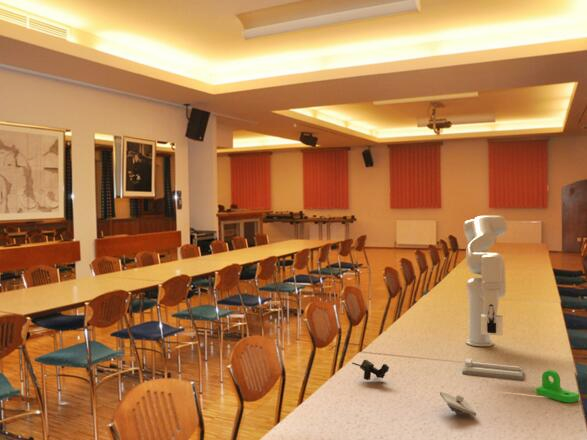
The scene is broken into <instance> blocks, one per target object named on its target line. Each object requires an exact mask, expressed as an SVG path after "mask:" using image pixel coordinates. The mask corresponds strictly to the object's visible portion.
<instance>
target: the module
mask: <svg viewBox="0 0 587 440" xmlns="http://www.w3.org/2000/svg"><path fill="white" fill-rule="evenodd" d="M487 322H488V314H486V315H484V314H482V315H481V334H488V335H490V336H502V337H503V335H504V315H503V314H497V315H496V316H495V323H496V333H488V332H487Z"/></svg>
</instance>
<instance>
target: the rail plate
mask: <svg viewBox="0 0 587 440" xmlns="http://www.w3.org/2000/svg"><path fill="white" fill-rule="evenodd" d="M461 372H462V374H463V375H471V376H479V377H480V376H481V377H487V378H488V377H490V378H497V379H505V380H506V379H507V380H518V381H523V380H524V378H523V376H524V374H523V372H524V371H523V369H522V368H521V367H520V366H517V365H516V366H515V365H504V364H495V363H484V362H477V361H476V362H475V361H473V358H471V357H470V358H469V357H467V358H466V360H465V364H464V365H463V367H462V370H461Z"/></svg>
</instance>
